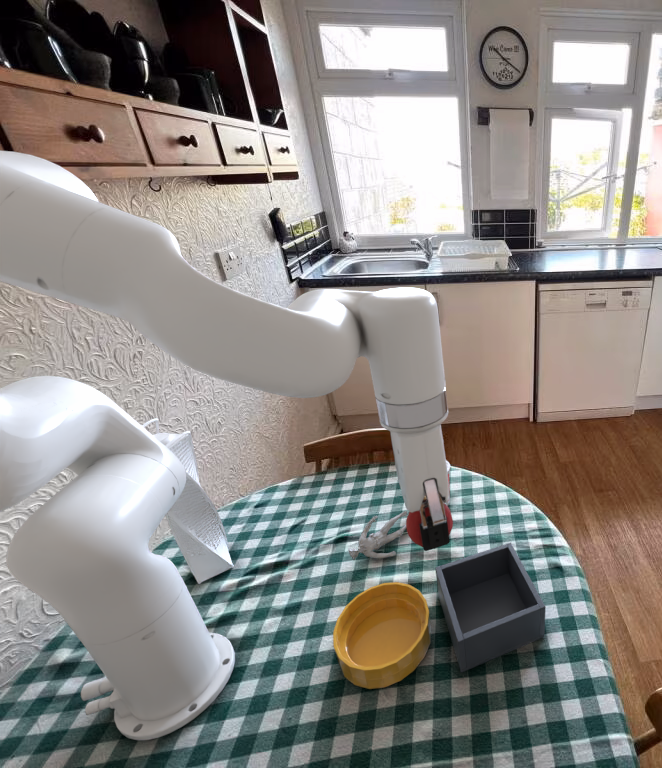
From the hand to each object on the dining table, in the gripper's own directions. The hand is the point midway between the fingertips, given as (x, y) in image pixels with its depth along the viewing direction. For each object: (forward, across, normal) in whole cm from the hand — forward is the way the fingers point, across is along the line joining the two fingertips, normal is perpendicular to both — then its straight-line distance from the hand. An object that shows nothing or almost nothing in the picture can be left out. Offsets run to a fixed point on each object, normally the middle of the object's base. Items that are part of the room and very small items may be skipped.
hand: (430, 526), depth 53 cm
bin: (+20, +1, +7) cm, 21 cm away
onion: (+3, 0, 0) cm, 3 cm away
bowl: (+20, -1, -8) cm, 22 cm away
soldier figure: (+20, -20, -6) cm, 29 cm away
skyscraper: (+20, -27, -34) cm, 48 cm away
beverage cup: (+20, -27, +6) cm, 34 cm away
